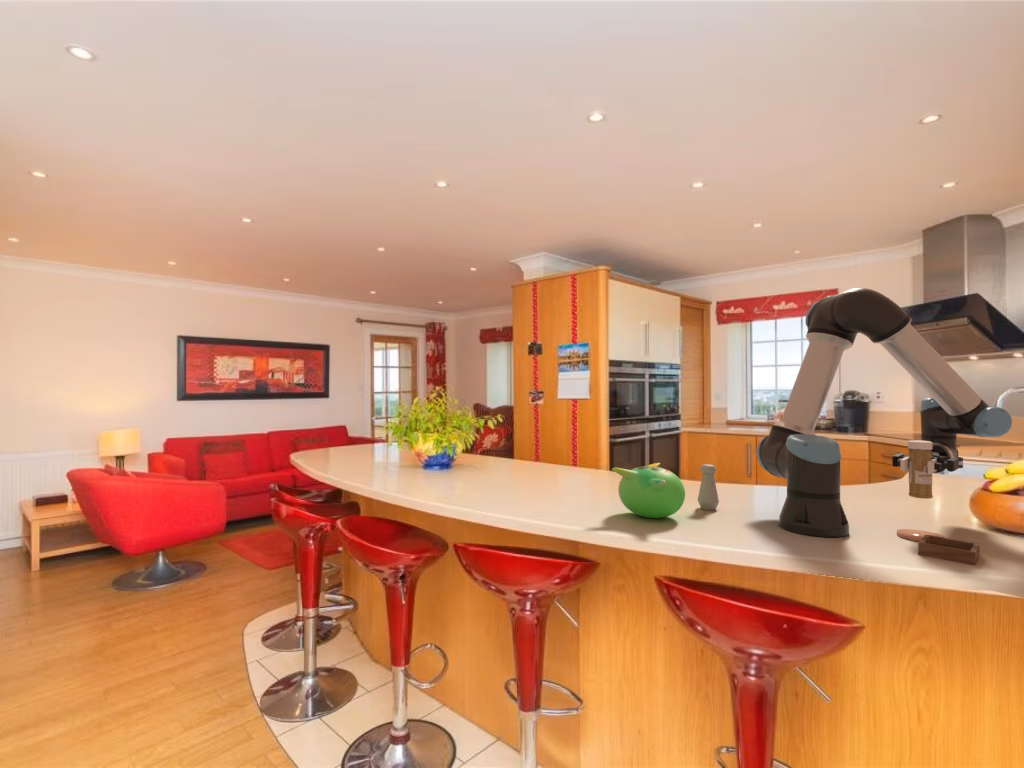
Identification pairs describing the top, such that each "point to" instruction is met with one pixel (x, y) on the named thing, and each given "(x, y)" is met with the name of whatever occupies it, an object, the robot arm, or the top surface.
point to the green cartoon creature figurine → (650, 491)
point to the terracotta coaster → (915, 534)
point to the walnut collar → (949, 549)
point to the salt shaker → (708, 488)
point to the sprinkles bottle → (920, 469)
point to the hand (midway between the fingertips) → (915, 466)
